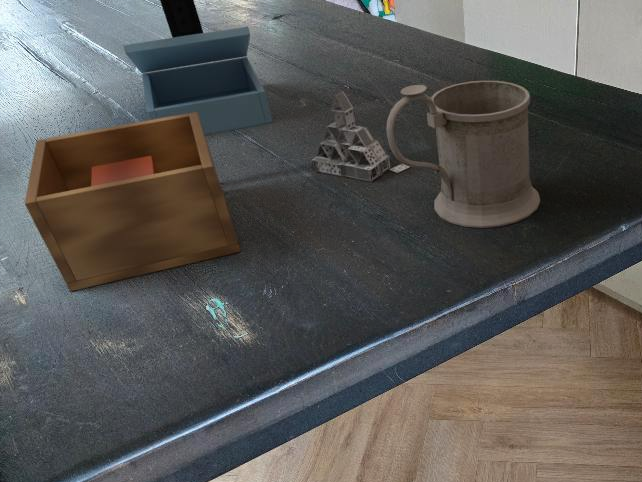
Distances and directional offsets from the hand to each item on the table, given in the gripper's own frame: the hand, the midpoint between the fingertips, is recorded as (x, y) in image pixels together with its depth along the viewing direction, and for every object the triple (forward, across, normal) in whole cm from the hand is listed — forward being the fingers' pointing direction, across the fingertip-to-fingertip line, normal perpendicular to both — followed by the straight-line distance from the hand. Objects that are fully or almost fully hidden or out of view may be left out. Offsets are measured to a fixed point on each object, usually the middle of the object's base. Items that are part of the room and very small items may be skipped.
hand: (188, 36), depth 78 cm
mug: (+10, +33, +19) cm, 39 cm away
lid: (+3, -4, 0) cm, 5 cm away
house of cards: (+10, +18, +14) cm, 25 cm away
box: (+10, -4, 0) cm, 11 cm away
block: (+9, +23, -9) cm, 26 cm away
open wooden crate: (+10, +24, -8) cm, 27 cm away
